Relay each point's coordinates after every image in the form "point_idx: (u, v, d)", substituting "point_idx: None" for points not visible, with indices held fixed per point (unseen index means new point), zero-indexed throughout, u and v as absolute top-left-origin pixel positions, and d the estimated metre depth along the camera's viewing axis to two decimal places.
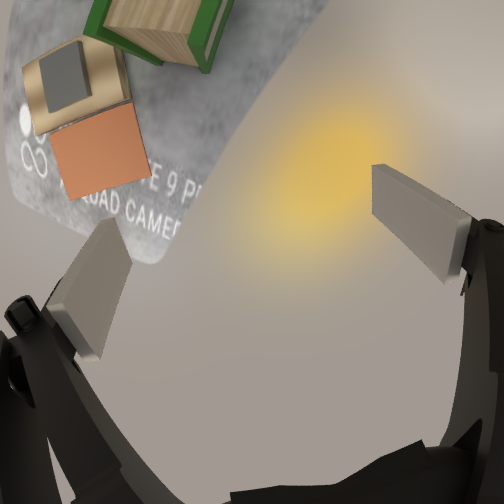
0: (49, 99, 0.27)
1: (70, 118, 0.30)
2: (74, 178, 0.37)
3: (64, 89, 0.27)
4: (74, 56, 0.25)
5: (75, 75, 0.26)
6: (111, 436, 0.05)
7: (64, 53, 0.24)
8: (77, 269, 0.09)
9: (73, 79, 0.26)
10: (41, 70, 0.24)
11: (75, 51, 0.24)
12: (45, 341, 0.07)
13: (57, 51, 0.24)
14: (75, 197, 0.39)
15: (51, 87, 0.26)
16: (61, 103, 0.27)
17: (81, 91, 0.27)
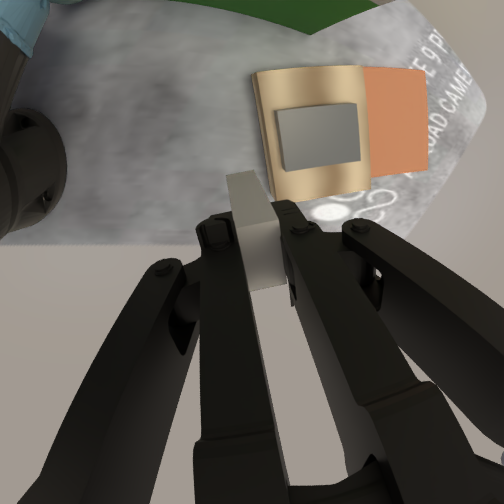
0: (344, 157, 0.28)
1: (367, 136, 0.28)
2: (410, 156, 0.34)
3: (339, 133, 0.26)
4: (300, 115, 0.25)
5: (326, 116, 0.25)
6: (268, 388, 0.06)
7: (291, 130, 0.26)
8: (245, 203, 0.12)
9: (331, 119, 0.26)
10: (302, 167, 0.28)
11: (293, 113, 0.25)
12: (235, 268, 0.08)
13: (284, 141, 0.26)
14: (426, 162, 0.34)
15: (331, 153, 0.27)
16: (355, 140, 0.27)
17: (349, 110, 0.25)
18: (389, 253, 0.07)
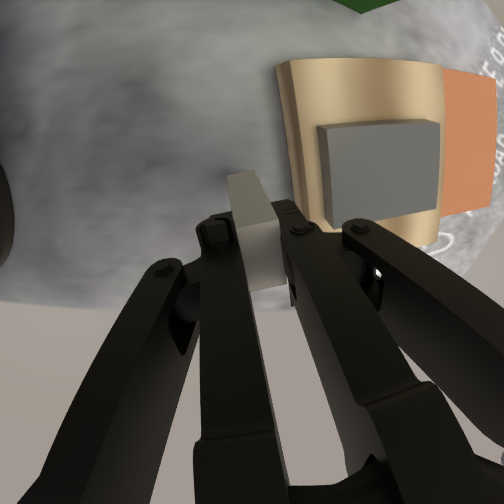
0: (417, 205, 0.17)
1: (442, 170, 0.18)
2: (475, 190, 0.23)
3: (415, 169, 0.16)
4: (362, 138, 0.15)
5: (400, 140, 0.15)
6: (268, 388, 0.06)
7: (347, 162, 0.15)
8: (245, 203, 0.12)
9: (406, 146, 0.15)
10: None
11: (352, 134, 0.15)
12: (235, 268, 0.08)
13: (335, 180, 0.16)
14: (489, 196, 0.24)
15: (400, 199, 0.17)
16: (433, 179, 0.16)
17: (430, 133, 0.15)
18: (389, 253, 0.07)
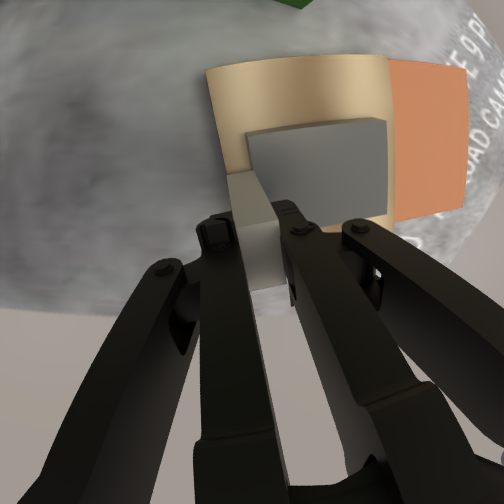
0: (363, 210, 0.17)
1: (392, 171, 0.18)
2: (444, 191, 0.23)
3: (357, 172, 0.16)
4: (290, 142, 0.15)
5: (336, 142, 0.15)
6: (268, 388, 0.06)
7: (273, 169, 0.15)
8: (245, 203, 0.12)
9: (344, 148, 0.15)
10: None
11: (278, 140, 0.15)
12: (235, 268, 0.08)
13: None
14: (462, 196, 0.24)
15: (341, 205, 0.17)
16: (380, 182, 0.16)
17: (374, 132, 0.15)
18: (389, 253, 0.07)
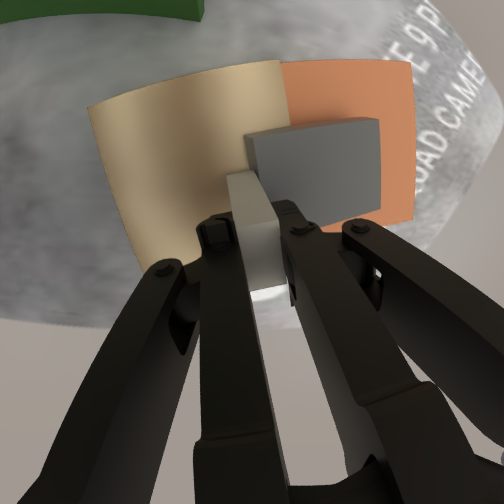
0: (359, 207, 0.18)
1: None
2: (385, 203, 0.23)
3: (354, 170, 0.16)
4: (293, 143, 0.15)
5: (335, 142, 0.15)
6: (268, 388, 0.06)
7: (277, 171, 0.15)
8: (245, 203, 0.12)
9: (343, 147, 0.16)
10: None
11: (281, 141, 0.14)
12: (235, 268, 0.08)
13: (266, 192, 0.15)
14: (411, 208, 0.24)
15: (340, 203, 0.17)
16: (375, 179, 0.17)
17: (368, 131, 0.15)
18: (389, 253, 0.07)
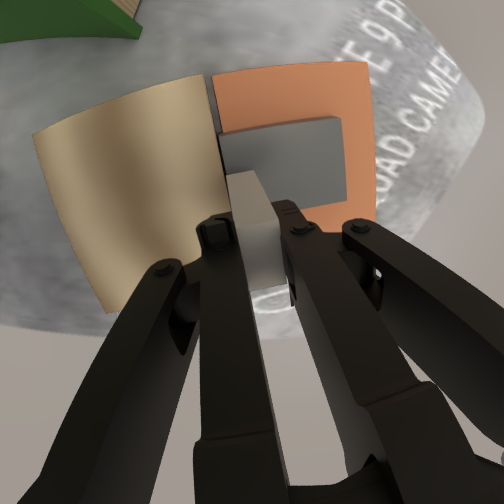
0: (323, 197, 0.20)
1: (225, 205, 0.18)
2: (341, 214, 0.23)
3: (315, 164, 0.19)
4: (254, 140, 0.18)
5: (295, 139, 0.18)
6: (268, 388, 0.06)
7: (241, 163, 0.18)
8: (245, 203, 0.12)
9: (302, 143, 0.18)
10: None
11: (243, 138, 0.18)
12: (235, 268, 0.08)
13: None
14: (372, 219, 0.23)
15: (303, 193, 0.20)
16: (338, 172, 0.19)
17: (329, 128, 0.18)
18: (389, 253, 0.07)
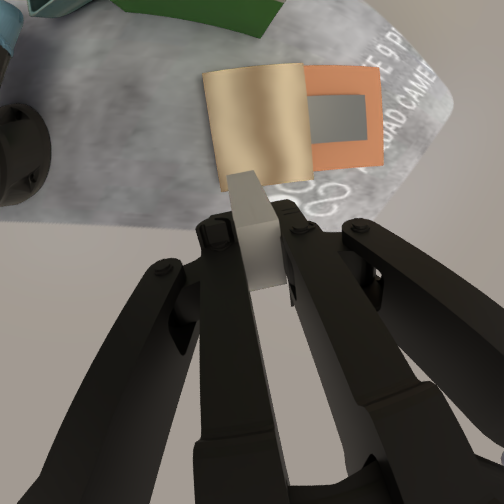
0: (354, 136, 0.34)
1: (308, 128, 0.31)
2: (363, 151, 0.37)
3: (351, 117, 0.33)
4: (321, 101, 0.32)
5: (341, 102, 0.32)
6: (268, 388, 0.06)
7: (313, 111, 0.32)
8: (245, 203, 0.12)
9: (345, 105, 0.32)
10: (321, 141, 0.34)
11: (316, 99, 0.31)
12: (234, 268, 0.08)
13: None
14: (381, 157, 0.37)
15: (344, 132, 0.34)
16: (363, 123, 0.33)
17: (358, 99, 0.32)
18: (389, 253, 0.07)
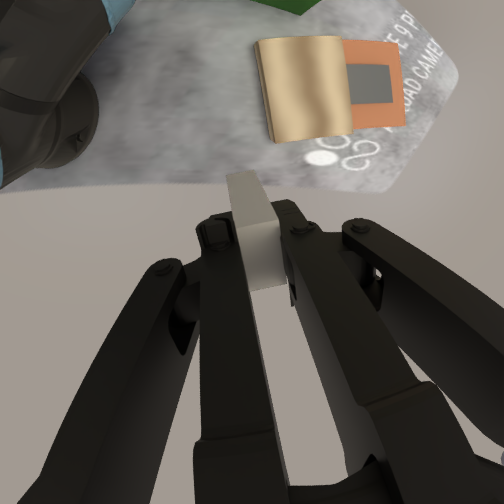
0: (382, 99, 0.36)
1: (347, 90, 0.34)
2: (389, 113, 0.39)
3: (379, 83, 0.35)
4: (355, 68, 0.34)
5: (371, 70, 0.34)
6: (268, 388, 0.06)
7: (349, 77, 0.34)
8: (245, 203, 0.12)
9: (374, 73, 0.34)
10: (356, 102, 0.36)
11: (350, 67, 0.34)
12: (235, 268, 0.08)
13: None
14: (404, 118, 0.39)
15: (374, 95, 0.36)
16: (388, 88, 0.35)
17: (384, 68, 0.34)
18: (389, 253, 0.07)
